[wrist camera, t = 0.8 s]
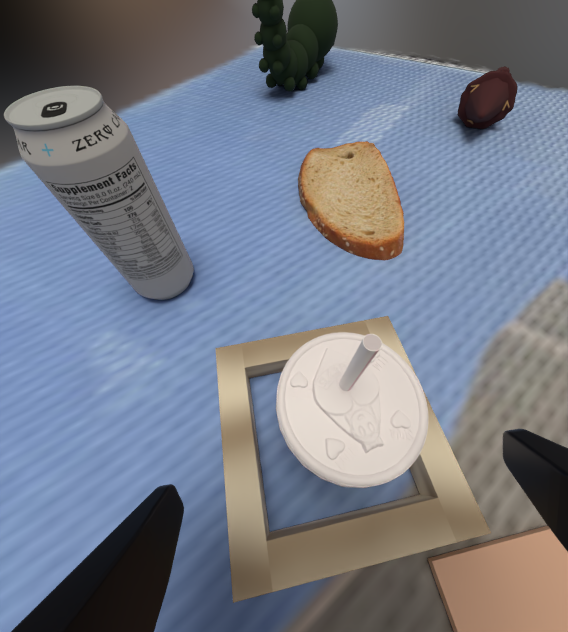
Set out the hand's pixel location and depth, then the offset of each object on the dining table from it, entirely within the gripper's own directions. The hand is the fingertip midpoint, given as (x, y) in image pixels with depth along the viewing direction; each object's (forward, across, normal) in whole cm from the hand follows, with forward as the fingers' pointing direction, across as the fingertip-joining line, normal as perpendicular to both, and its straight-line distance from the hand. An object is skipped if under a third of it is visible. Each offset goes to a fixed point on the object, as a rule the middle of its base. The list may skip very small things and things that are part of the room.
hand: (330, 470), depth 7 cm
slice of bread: (+32, -9, -8) cm, 34 cm away
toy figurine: (+60, -8, -35) cm, 70 cm away
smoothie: (+10, 0, +8) cm, 13 cm away
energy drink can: (+21, +13, -5) cm, 25 cm away
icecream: (+45, -32, -16) cm, 58 cm away
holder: (+10, 0, +8) cm, 13 cm away
